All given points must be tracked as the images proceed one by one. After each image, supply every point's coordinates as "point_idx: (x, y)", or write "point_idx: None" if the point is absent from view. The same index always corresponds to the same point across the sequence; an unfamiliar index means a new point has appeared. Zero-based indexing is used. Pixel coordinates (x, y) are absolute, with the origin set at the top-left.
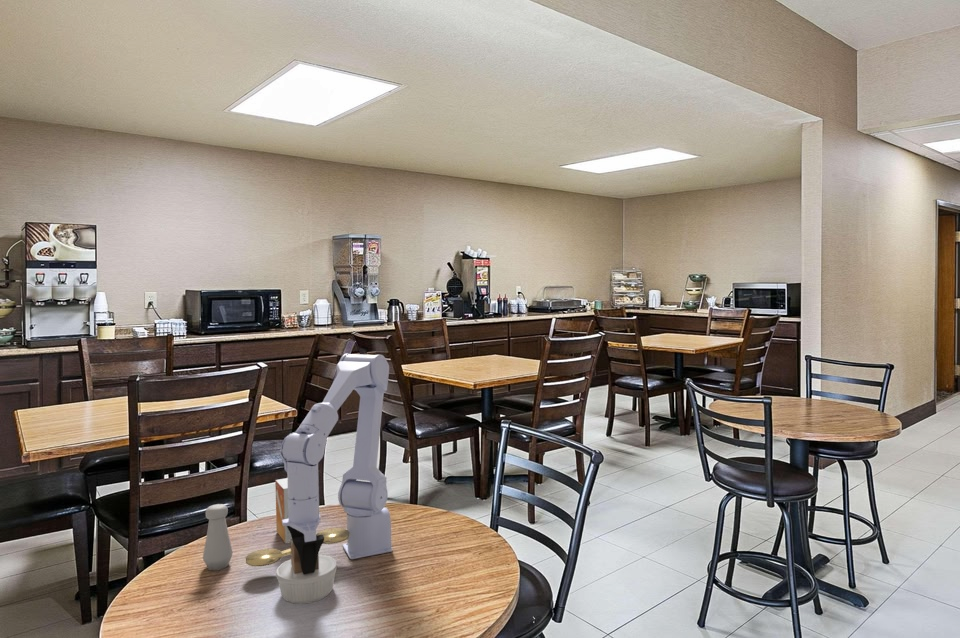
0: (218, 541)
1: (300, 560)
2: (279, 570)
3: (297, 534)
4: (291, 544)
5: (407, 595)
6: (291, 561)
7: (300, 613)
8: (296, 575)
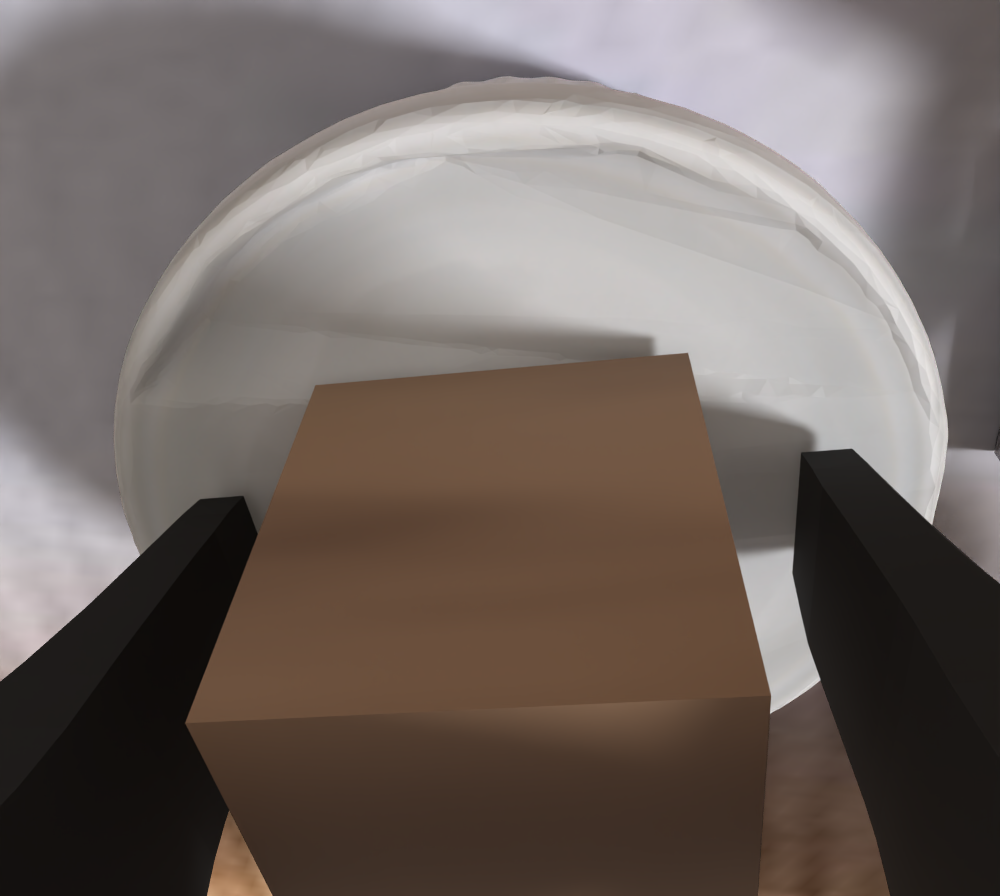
0: None
1: (43, 649)
2: (592, 156)
3: (959, 819)
4: (600, 642)
5: None
6: (648, 391)
7: (83, 262)
8: (258, 405)
